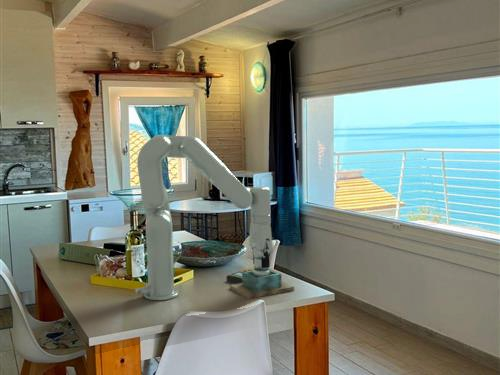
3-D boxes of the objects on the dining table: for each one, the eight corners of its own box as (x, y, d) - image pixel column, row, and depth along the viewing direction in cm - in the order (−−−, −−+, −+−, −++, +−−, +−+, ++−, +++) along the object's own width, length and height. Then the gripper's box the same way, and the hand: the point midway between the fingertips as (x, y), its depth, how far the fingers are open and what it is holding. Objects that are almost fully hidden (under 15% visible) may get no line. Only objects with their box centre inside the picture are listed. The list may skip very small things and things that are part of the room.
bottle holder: (248, 298, 200) (248, 281, 200) (230, 288, 214) (229, 272, 213) (294, 290, 210) (294, 273, 209) (274, 281, 223) (273, 265, 222)
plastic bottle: (264, 285, 207) (264, 233, 205) (249, 282, 210) (249, 231, 208) (273, 281, 212) (272, 230, 210) (258, 278, 216) (257, 228, 214)
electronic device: (265, 277, 231) (265, 269, 231) (241, 286, 219) (241, 277, 218) (249, 274, 236) (249, 266, 236) (225, 282, 224) (225, 274, 224)
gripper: (241, 217, 215) (242, 262, 216) (263, 223, 199) (264, 272, 201) (258, 215, 218) (258, 260, 220) (281, 221, 203) (281, 269, 205)
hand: (261, 265), depth 211 cm, fingers closed on plastic bottle, 5 cm apart
